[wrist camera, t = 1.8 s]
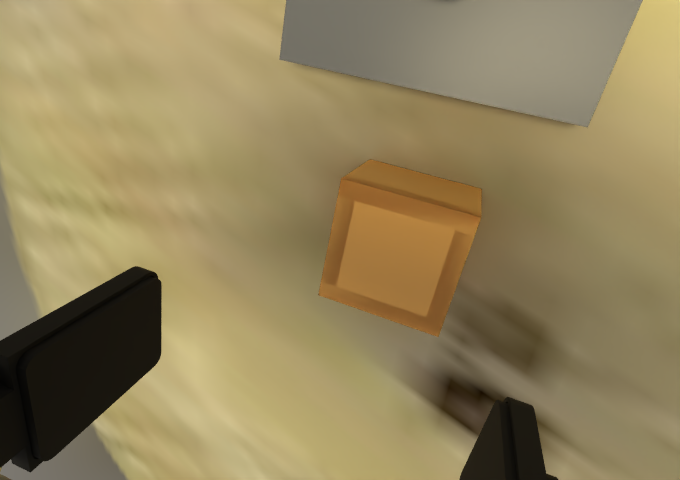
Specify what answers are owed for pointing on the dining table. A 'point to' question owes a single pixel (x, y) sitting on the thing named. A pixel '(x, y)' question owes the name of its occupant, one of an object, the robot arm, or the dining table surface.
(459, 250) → the orange panelled cube
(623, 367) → the dining table surface
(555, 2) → the plate
